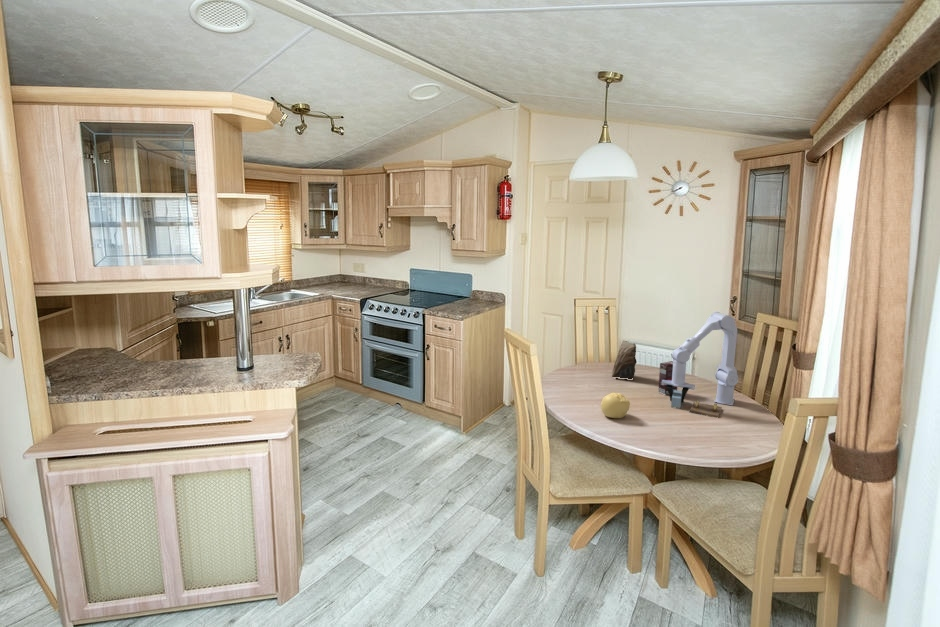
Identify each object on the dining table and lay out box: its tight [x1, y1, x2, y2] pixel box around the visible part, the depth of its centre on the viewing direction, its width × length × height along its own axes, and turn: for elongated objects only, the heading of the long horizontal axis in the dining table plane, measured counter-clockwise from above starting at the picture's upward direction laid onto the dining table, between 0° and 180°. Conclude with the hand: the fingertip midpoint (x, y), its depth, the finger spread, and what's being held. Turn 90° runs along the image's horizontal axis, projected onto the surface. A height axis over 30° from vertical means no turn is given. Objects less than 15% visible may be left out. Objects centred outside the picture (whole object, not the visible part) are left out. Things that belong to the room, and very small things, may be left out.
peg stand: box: [689, 400, 723, 418], centre depth 232 cm, size 12×12×4 cm
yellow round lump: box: [600, 392, 631, 419], centre depth 226 cm, size 11×12×11 cm
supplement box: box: [658, 360, 678, 396], centre depth 254 cm, size 9×5×16 cm, turn 115°
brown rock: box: [611, 339, 637, 379], centre depth 278 cm, size 13×13×20 cm
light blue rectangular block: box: [670, 390, 682, 409], centre depth 240 cm, size 11×4×5 cm, turn 153°
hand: (676, 401), depth 240 cm, fingers closed on light blue rectangular block, 4 cm apart
